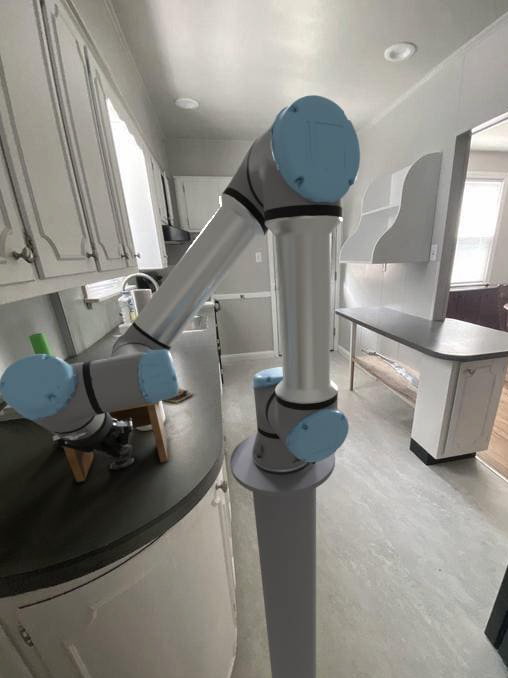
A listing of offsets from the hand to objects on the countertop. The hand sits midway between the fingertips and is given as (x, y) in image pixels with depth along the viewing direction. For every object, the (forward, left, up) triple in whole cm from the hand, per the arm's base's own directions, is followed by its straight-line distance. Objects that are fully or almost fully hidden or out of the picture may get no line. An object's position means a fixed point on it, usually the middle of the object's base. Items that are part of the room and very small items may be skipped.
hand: (116, 450), depth 70 cm
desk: (+2, -4, -5) cm, 7 cm away
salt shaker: (+1, -2, -5) cm, 6 cm away
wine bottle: (+22, -10, -6) cm, 24 cm away
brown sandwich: (+8, -40, -6) cm, 41 cm away
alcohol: (+6, -21, -6) cm, 22 cm away
